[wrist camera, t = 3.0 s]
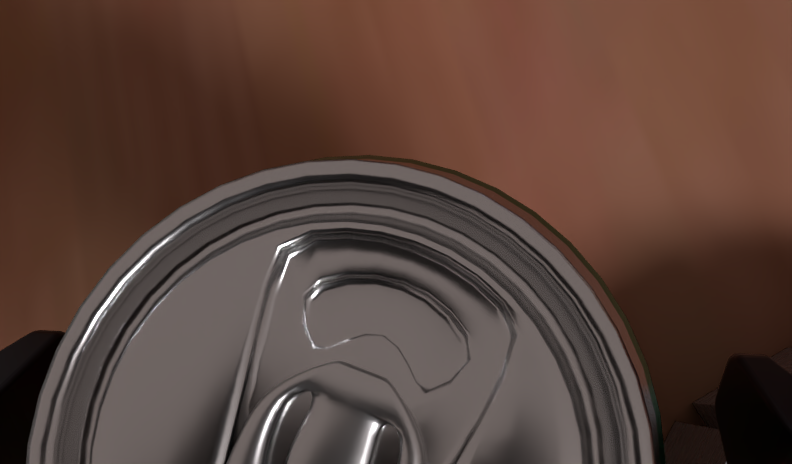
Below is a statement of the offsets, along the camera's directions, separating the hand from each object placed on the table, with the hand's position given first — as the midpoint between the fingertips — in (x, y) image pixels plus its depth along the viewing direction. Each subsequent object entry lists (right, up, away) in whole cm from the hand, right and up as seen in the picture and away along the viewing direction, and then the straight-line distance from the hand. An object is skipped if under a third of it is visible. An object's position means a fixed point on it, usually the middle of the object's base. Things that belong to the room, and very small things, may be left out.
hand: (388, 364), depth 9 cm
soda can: (0, -2, +7) cm, 8 cm away
